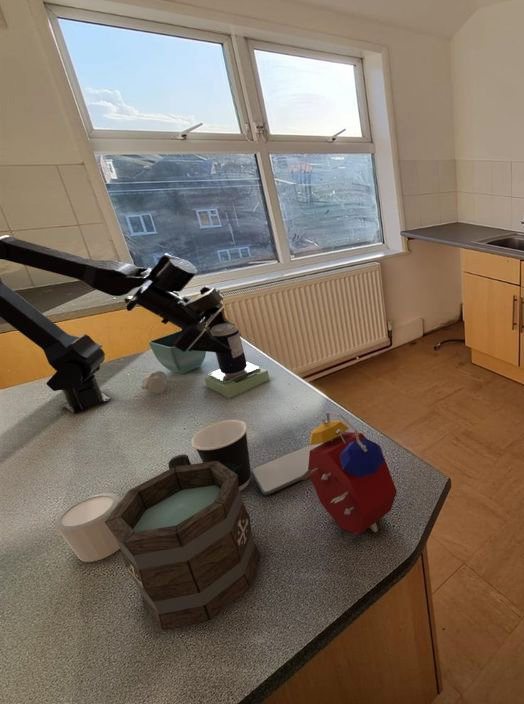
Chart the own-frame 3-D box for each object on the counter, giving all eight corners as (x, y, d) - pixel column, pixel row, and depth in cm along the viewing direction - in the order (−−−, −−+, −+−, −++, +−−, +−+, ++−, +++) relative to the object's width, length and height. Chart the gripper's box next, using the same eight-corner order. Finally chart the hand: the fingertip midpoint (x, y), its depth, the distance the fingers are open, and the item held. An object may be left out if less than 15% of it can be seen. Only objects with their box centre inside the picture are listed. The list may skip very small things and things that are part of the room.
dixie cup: (228, 507, 72) (211, 454, 67) (197, 492, 74) (179, 440, 70) (270, 476, 78) (257, 426, 74) (240, 463, 81) (226, 415, 77)
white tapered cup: (98, 570, 61) (80, 534, 58) (60, 561, 62) (40, 525, 59) (145, 530, 67) (131, 496, 64) (109, 523, 68) (94, 489, 66)
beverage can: (242, 363, 110) (231, 320, 106) (251, 370, 107) (241, 326, 102) (217, 371, 106) (205, 327, 102) (226, 379, 103) (214, 333, 98)
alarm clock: (401, 526, 69) (390, 422, 61) (354, 565, 62) (335, 454, 55) (347, 484, 77) (331, 388, 69) (300, 515, 70) (277, 412, 63)
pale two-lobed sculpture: (148, 388, 107) (170, 377, 109) (148, 402, 101) (171, 390, 103) (136, 375, 105) (159, 364, 107) (135, 389, 99) (159, 376, 101)
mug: (268, 590, 58) (244, 506, 53) (141, 654, 51) (97, 564, 45) (248, 500, 73) (228, 427, 67) (147, 539, 66) (114, 461, 60)
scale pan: (208, 375, 105) (207, 373, 105) (242, 362, 112) (242, 360, 112) (225, 384, 102) (225, 382, 102) (260, 369, 109) (259, 367, 109)
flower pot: (213, 364, 117) (205, 334, 113) (180, 379, 109) (170, 347, 106) (191, 358, 119) (182, 329, 116) (157, 373, 112) (147, 342, 108)
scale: (206, 386, 106) (203, 375, 105) (246, 369, 114) (244, 359, 113) (229, 398, 102) (226, 387, 100) (269, 379, 110) (267, 369, 109)
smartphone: (349, 454, 83) (263, 494, 73) (349, 459, 83) (264, 498, 73) (330, 435, 88) (249, 468, 78) (331, 438, 88) (250, 473, 79)
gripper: (176, 292, 88) (248, 335, 96) (203, 269, 104) (263, 306, 112) (142, 332, 89) (216, 371, 96) (174, 302, 105) (236, 337, 113)
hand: (235, 344), depth 104 cm, fingers open, 9 cm apart
